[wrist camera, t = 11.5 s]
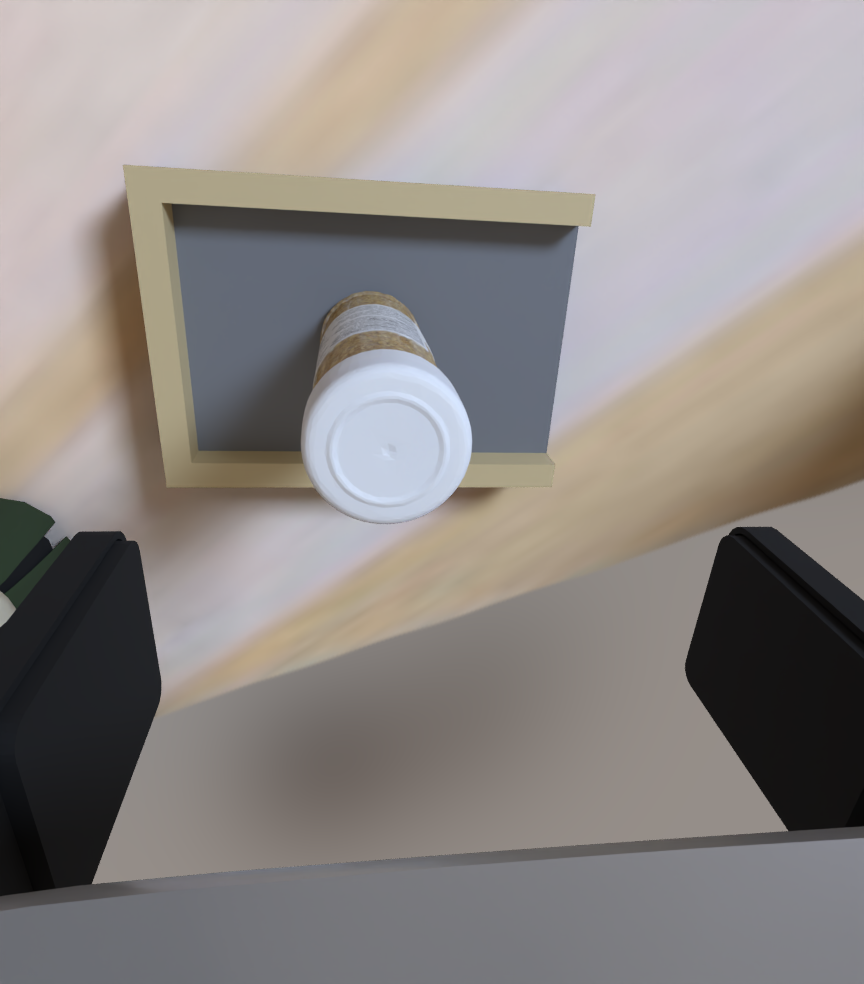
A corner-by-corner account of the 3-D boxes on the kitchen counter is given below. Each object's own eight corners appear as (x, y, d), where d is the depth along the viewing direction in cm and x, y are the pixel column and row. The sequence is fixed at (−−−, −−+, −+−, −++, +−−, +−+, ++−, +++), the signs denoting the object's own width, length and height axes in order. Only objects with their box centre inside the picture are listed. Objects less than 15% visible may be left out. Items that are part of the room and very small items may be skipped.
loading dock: (568, 193, 29) (595, 194, 26) (533, 459, 34) (551, 487, 31) (149, 167, 26) (122, 164, 23) (184, 458, 32) (166, 487, 29)
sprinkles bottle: (403, 401, 30) (443, 546, 18) (307, 374, 29) (280, 509, 17) (434, 305, 28) (500, 394, 16) (333, 273, 27) (323, 342, 15)
